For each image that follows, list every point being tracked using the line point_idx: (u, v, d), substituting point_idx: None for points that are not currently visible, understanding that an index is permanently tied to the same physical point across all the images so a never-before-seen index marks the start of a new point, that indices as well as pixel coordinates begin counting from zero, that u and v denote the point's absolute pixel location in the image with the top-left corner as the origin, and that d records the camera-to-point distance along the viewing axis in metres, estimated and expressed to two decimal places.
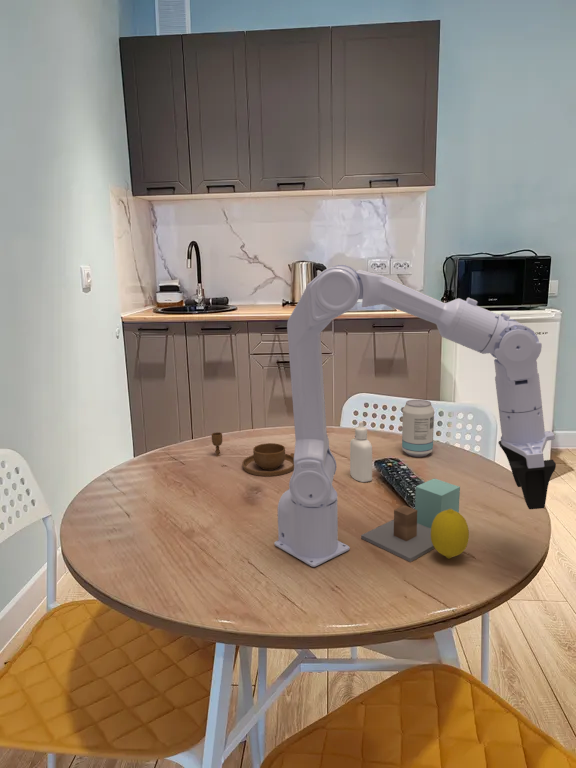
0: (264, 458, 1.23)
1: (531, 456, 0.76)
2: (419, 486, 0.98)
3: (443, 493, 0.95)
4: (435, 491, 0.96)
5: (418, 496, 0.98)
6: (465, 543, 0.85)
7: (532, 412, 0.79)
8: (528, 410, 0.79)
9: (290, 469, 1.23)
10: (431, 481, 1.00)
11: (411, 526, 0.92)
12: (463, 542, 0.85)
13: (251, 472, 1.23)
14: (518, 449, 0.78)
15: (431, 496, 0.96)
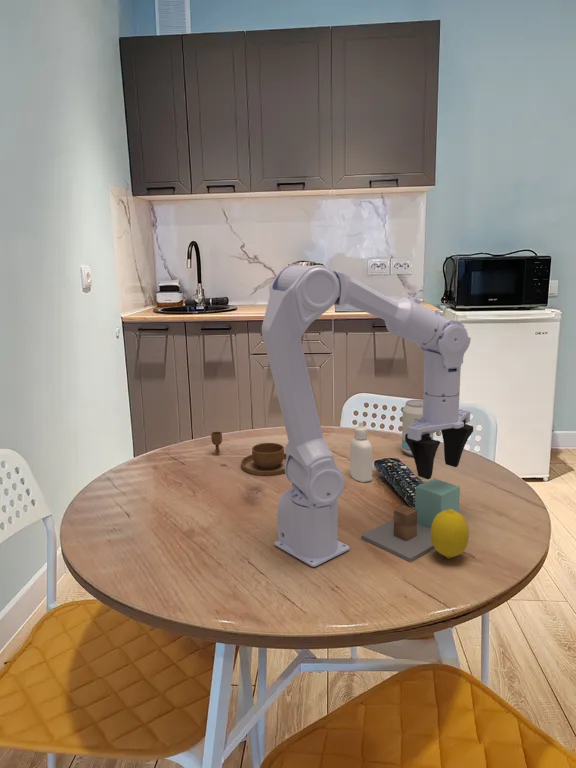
0: (262, 457, 1.24)
1: (410, 429, 0.91)
2: (419, 486, 0.98)
3: (443, 493, 0.95)
4: (435, 491, 0.96)
5: (418, 496, 0.98)
6: (465, 543, 0.85)
7: (437, 397, 0.92)
8: (433, 395, 0.92)
9: None
10: (431, 481, 1.00)
11: (411, 526, 0.92)
12: (463, 542, 0.85)
13: (249, 471, 1.23)
14: (415, 423, 0.93)
15: (431, 496, 0.96)
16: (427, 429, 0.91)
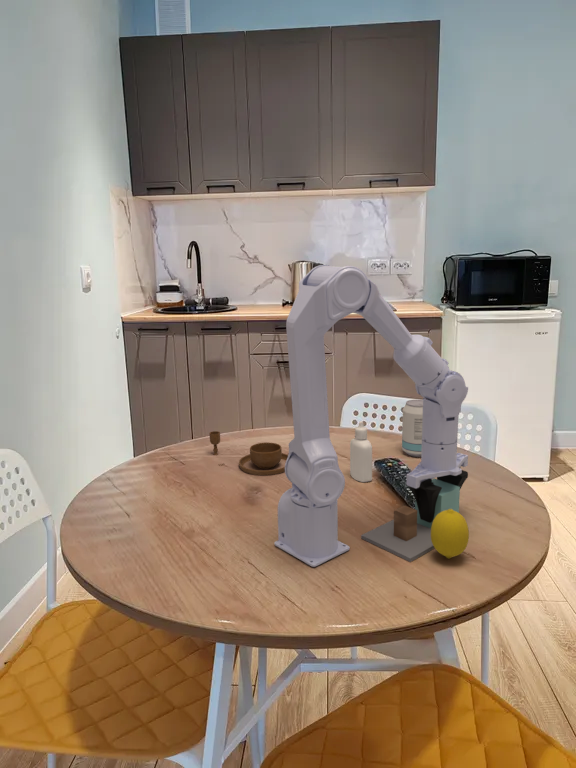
0: (260, 457, 1.24)
1: (409, 476, 0.93)
2: None
3: (443, 493, 0.95)
4: None
5: None
6: (465, 543, 0.85)
7: (435, 445, 0.94)
8: (432, 442, 0.94)
9: None
10: None
11: (411, 526, 0.92)
12: (463, 542, 0.85)
13: (247, 471, 1.23)
14: (414, 469, 0.95)
15: None
16: (425, 477, 0.93)
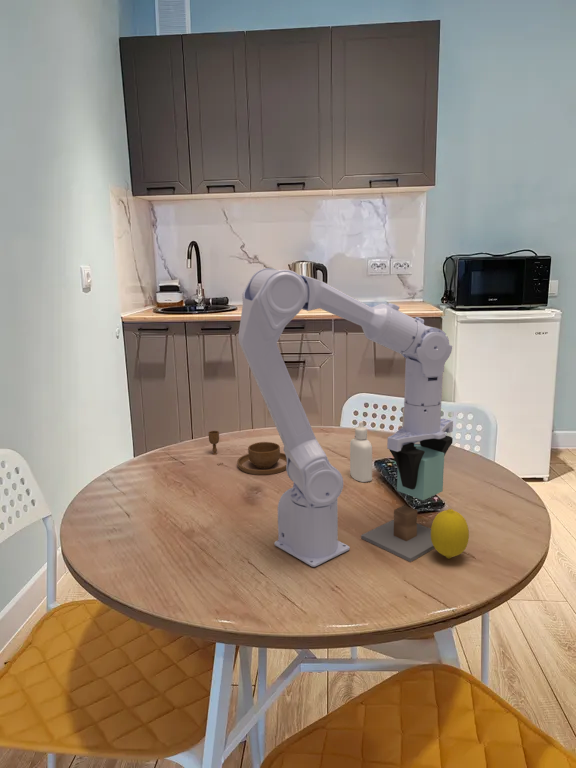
0: (258, 456, 1.24)
1: (390, 439, 0.88)
2: None
3: (427, 458, 0.91)
4: None
5: None
6: (465, 543, 0.85)
7: (417, 407, 0.89)
8: (414, 404, 0.89)
9: (284, 468, 1.24)
10: None
11: (411, 526, 0.92)
12: (463, 542, 0.85)
13: (245, 470, 1.23)
14: (395, 433, 0.91)
15: None
16: (407, 440, 0.88)
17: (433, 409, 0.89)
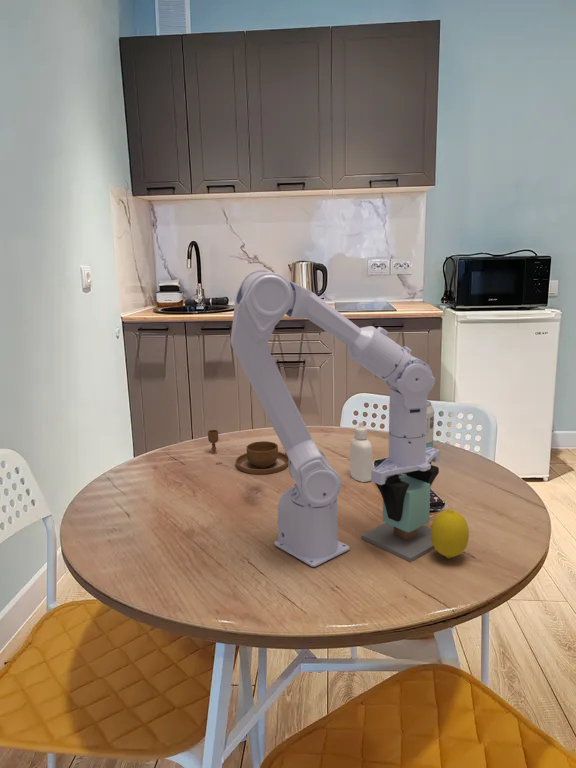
0: (256, 456, 1.24)
1: (373, 472, 0.87)
2: None
3: (412, 490, 0.89)
4: None
5: None
6: (465, 543, 0.85)
7: (402, 439, 0.88)
8: (399, 436, 0.88)
9: (281, 467, 1.24)
10: None
11: None
12: (463, 542, 0.85)
13: (243, 469, 1.24)
14: (380, 465, 0.89)
15: None
16: (391, 472, 0.87)
17: (418, 441, 0.88)
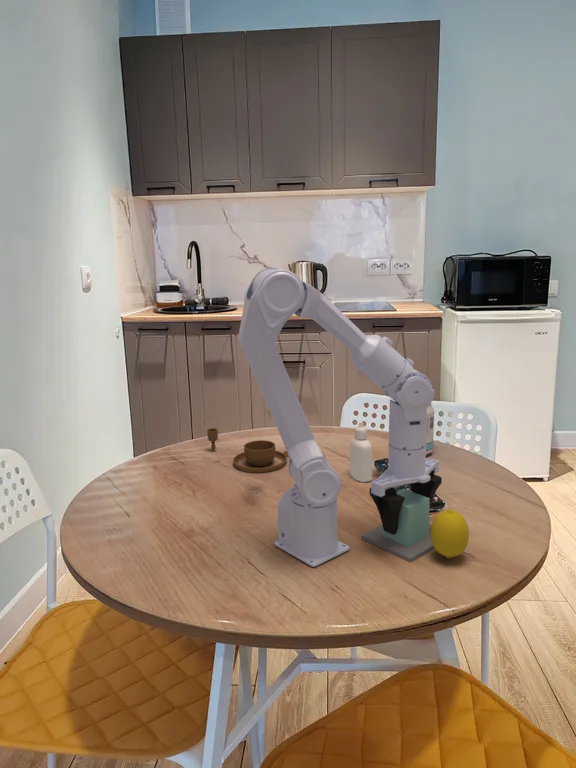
0: (253, 455, 1.25)
1: (373, 484, 0.87)
2: None
3: (411, 505, 0.90)
4: (403, 503, 0.90)
5: None
6: (465, 543, 0.85)
7: (401, 451, 0.88)
8: (398, 448, 0.88)
9: (278, 466, 1.25)
10: (400, 492, 0.95)
11: None
12: (463, 542, 0.85)
13: (240, 468, 1.25)
14: (379, 476, 0.90)
15: None
16: (391, 484, 0.87)
17: (417, 453, 0.88)
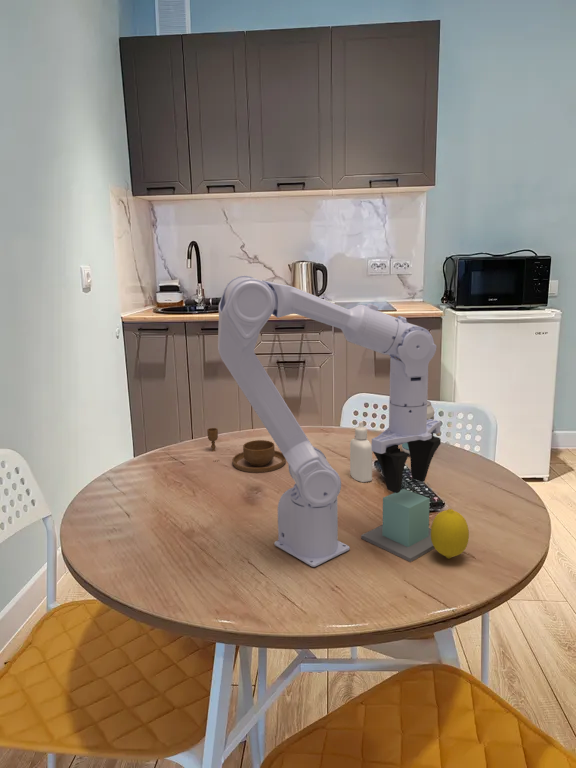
0: (252, 454, 1.25)
1: (374, 441, 0.86)
2: (386, 497, 0.93)
3: (411, 505, 0.90)
4: (403, 503, 0.90)
5: (385, 507, 0.93)
6: (465, 543, 0.85)
7: (402, 408, 0.86)
8: (399, 405, 0.87)
9: (277, 466, 1.25)
10: (400, 492, 0.95)
11: None
12: (463, 542, 0.85)
13: (239, 468, 1.25)
14: (380, 434, 0.88)
15: (398, 508, 0.91)
16: (392, 441, 0.86)
17: (418, 410, 0.86)
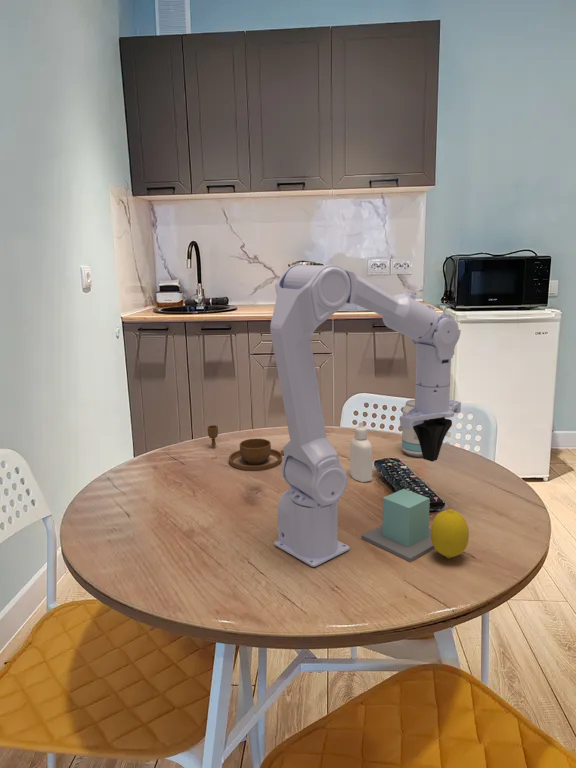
0: (247, 452, 1.27)
1: (402, 418, 0.95)
2: (386, 497, 0.93)
3: (411, 505, 0.90)
4: (403, 503, 0.90)
5: (385, 507, 0.93)
6: (465, 543, 0.85)
7: (428, 388, 0.96)
8: (425, 385, 0.96)
9: (271, 465, 1.26)
10: (400, 492, 0.95)
11: None
12: (463, 542, 0.85)
13: (234, 465, 1.27)
14: (407, 412, 0.98)
15: (398, 508, 0.91)
16: (419, 418, 0.95)
17: (442, 390, 0.96)
